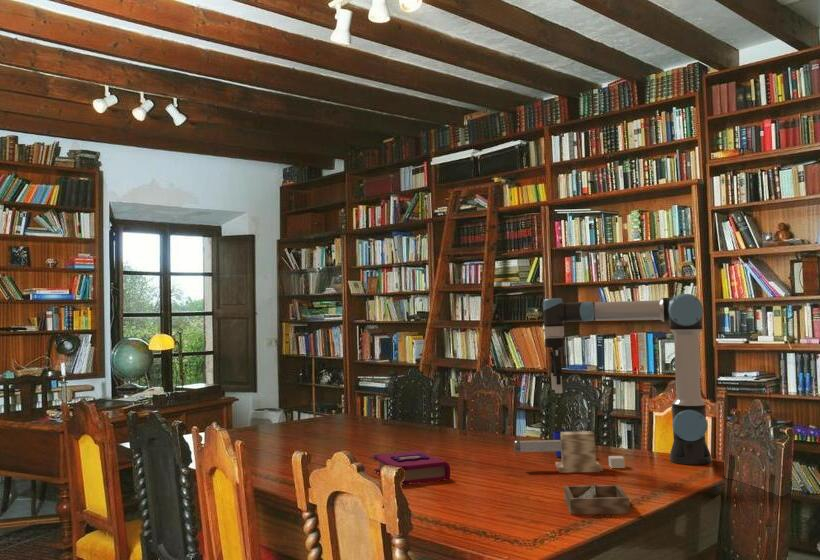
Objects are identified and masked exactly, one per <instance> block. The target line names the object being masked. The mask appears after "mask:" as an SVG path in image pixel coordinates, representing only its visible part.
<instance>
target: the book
mask: <svg viewBox="0 0 820 560" xmlns="http://www.w3.org/2000/svg"><path fill="white" fill-rule="evenodd" d="M373 460H375V461H377V462H378V465H379V466H378V468H374V469H373V472H374V471H376V473H377V472H379V475H378V476H380V469H381V467H383V466H384V465H392V466H396V467H402V468H403V469H404V470H405V479H404V481H403V482H402V483H403V484H405V485H404V486H407V485H406V484H409V483H417V484H419V483H418V482H425V483H430V482H429V481H434V482H438V481H437V480H442V481H445V480H444V479H448V480H450V478H451V466H450V463H448V462H446V461H444V460H442V459H440V458H437V457H435V456H432V455H431V454H428V453H426V452H423V451H421V450H411V451H401V452H390V453H379V454H374V455H373ZM376 473H375V474H376ZM409 485H410V484H409Z"/></svg>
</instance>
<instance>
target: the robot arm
mask: <svg viewBox="0 0 820 560" xmlns="http://www.w3.org/2000/svg"><path fill="white" fill-rule="evenodd" d="M542 303H543V304H542V305H543V310H542V311H543V325H544V326H543V327H544V328H543V329H542V331H543V332H544V337H545V339H544V346H545V348H547V349H549V348H550V350H549V360H550V369H549V370H550V373H551V374H550V375H551V377H550V378H551V390H553V391H555V392H554V393H555V394H563V371H562V358H561V356H562V353H561V350H560V349H559V348H564V347H565V338H564V336H565V326H564V323H567V322H568V323H569V322H570V323H571V322H572V323H574V322H592V321H593V322H594V321H648V320H649V321H652V320H657V321H658V320H660V321H661V322H663V323H668V324H669V325H668V326H669V331H670V332H671V333H672V334H673V341H674V342H673V343H674V365H675V372H674V373H675V394H676V395H675V396H676V398H675V399H674V400H673V402H672V403H671V408H670V409H671V417H672V432H673V433H672V435H673V441H672V445H671V449H670V451H669V461H670V462H671V463H675V464H681V465H691V466H692V465H693V466H695V465H707V464H710V463H712V454H711V452H710V449H709V447H708V444H707V441H706V432H707V431H708V422H707V413H706V412H707V411H706V409H707V408H706V402H704V400H703V399H702V393H701V390H702V389H701V370H700V369H701V368H700V366H701V363H700V362H701V361H700V341H699V334H700V333H701V332H702V331H703V313H704V306H703V304H702V301H701V300H700V299H699V298H698V297H697V296H696V295H693V294H692V293H680V294H677V295H676V296H671V297H670V296H669V297H662V298H660V299H659V300H627V301H623V300H621V301H593V302H592V301H579V302H577V301H575V302H564V301H563V299H562V298H559V297H556V298H545V299H544V300H543V302H542Z"/></svg>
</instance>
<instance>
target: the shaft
mask: <svg viewBox="0 0 820 560" xmlns="http://www.w3.org/2000/svg"><path fill="white" fill-rule="evenodd" d="M513 441H514V442H513V444H514V453H528V452H529V453H531V452H532V453H533V452H534V453H535V452H555V451H563V450H562V440H554V439H547V440H545V439H542V440H541V439H539V440H538V439H537V440H536V439H535V440H513Z"/></svg>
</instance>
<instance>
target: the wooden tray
mask: <svg viewBox="0 0 820 560" xmlns="http://www.w3.org/2000/svg"><path fill="white" fill-rule="evenodd" d="M592 485H593V484H592ZM592 485H563V491H564V492H563V495H564V502H565V505H566V506H567V509H568V511H569V513H570V515H626V514H627V515H630V514H631V508H630V507H631V506H630V497H629V496H628V494H626V493H625V491H624V490H623V489H622V487H621V486H620V484H613V485H612V484H610V485H609V484H603V485H602V484H601V485H597V484H596V485H597V486H596V487H597V492H598V497H599V498H578V497H579V496H580V495H582V494H584V493H585V492H586V491H588V490H589V489H590V488H591V486H592Z"/></svg>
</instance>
